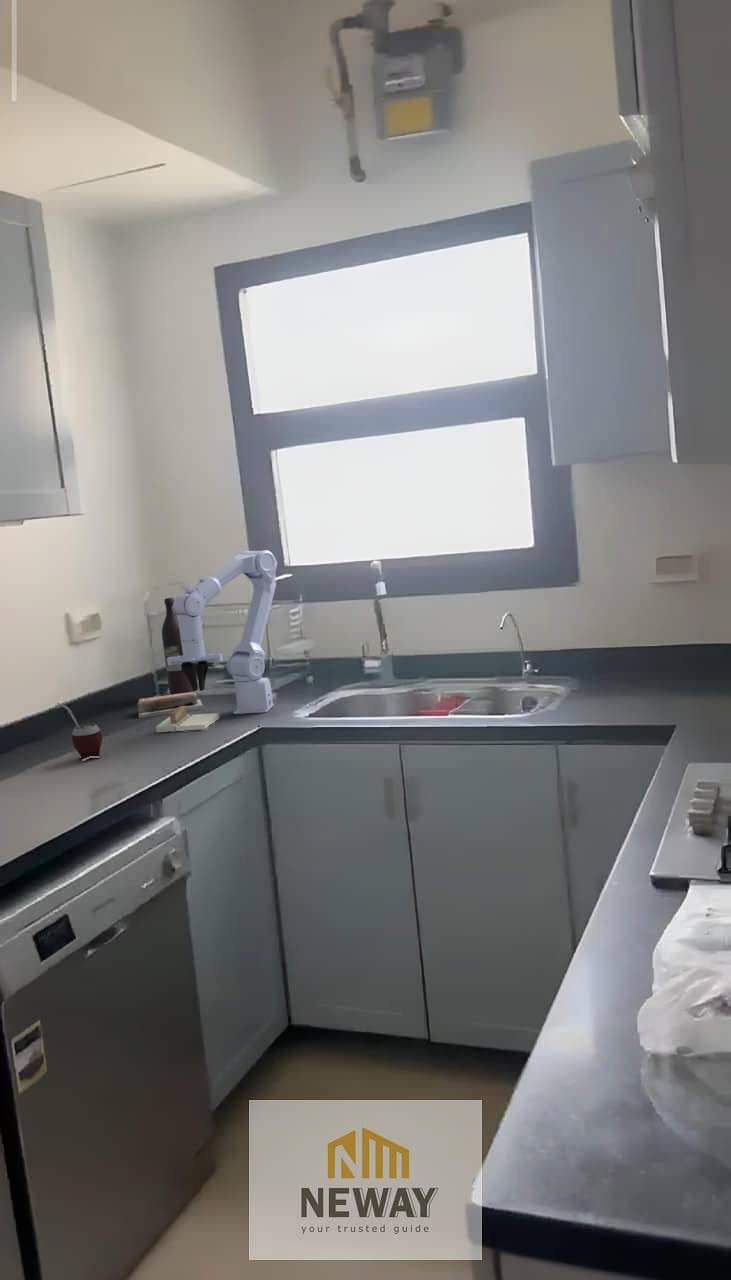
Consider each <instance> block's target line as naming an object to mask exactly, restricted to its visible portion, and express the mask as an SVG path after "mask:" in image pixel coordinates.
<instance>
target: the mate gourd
mask: <svg viewBox="0 0 731 1280" xmlns="http://www.w3.org/2000/svg"><path fill="white" fill-rule="evenodd" d="M56 704H57V705H58V706H60V707H62V708H64V709H65V710H66V711H67V714H69V715H70V716H71V719H72V720H73V722H74V724H75V727H74V728H73V730H72V731H71V741H72V742H71V743H72V744H73V747H74V749H75V750H76V752H77V753H78V754H79V756H81V758H80V759H81V760H82V759H84V758H87V757H89V756H101V755H100V752H101V746H102V744H103V734H102V731H101V729H100V727H99V726H98V724H96V723H85V724H80V725H79V723H78V721H77V719H76V718H75V715H74V714H73V711H72V710H71V708H69V707H68V706H66V705H64V704H62V703H60V702H56Z"/></svg>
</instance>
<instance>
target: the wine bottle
mask: <svg viewBox="0 0 731 1280" xmlns="http://www.w3.org/2000/svg"><path fill="white" fill-rule="evenodd" d="M174 600H175V598H174V597H166V598H164V605H165V610H166V611H165V614H166V615H165V618H164V620H163V624H162V628H161V639H162V646H163V647H162V648H163V654H164V662H165V669H166V676H167V681H168V683H167V685H168V691H169V695H173V694H180V693H189V692H195V691H193V689H192V686H191V684H190V682H189V680H188V678H187V676H186V675H185V673H184V672H183V671H182V669H181V667H182V664H176V665H169V666H168V663H167V658H169V657H175V656H183V651H182V643H181V636H180V629H179V621H178V620H177V615H176V614H175V613H174V612H173V610H172V606H173V602H174Z"/></svg>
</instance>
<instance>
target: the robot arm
mask: <svg viewBox="0 0 731 1280" xmlns="http://www.w3.org/2000/svg"><path fill="white" fill-rule="evenodd" d="M277 567H278V561H277V559H276V557H275V555H274V554H273V553H272V552H271V551H270V550H267V549H265V550H243V551H241V552H240V553H239V554H237V555H235V557H234V559H232V560H231V561H230V562H229V563H228V564H227V565H226V566H225V567H223V568H222V569H221V570H220V571H218V572H217V573H216V574H215V575H214V576H213V577H211V576H204V577H201V578H199V582H198V583H196V584H195V585H193V586H192V587H188V588H187V589H186V592H185V593H180V594H179V593H178V595H176V596H175V598H174V602H173V606H172V610H173V612H174V613H175V614H176V615H177V620H178V621H179V629H180V636H181V643H182V651H183V656H175V657H169V658H167V663H168V666H169V665H176V664H182V667H181V669H182V671H183V672H184V673H185V675H186V676H187V678H188V680H189V682H190V684H191V686H192V689H193V691H194V692H197V691H198V690H199V691H204V690H205V689H206V687H205V686H206V678H207V673H208V669H209V668H210V664H211V663H221V662H223V660H224V659H223V653H222V652H221V653H218V652H217V653H206V650H205V642H204V635H203V634H204V633H203V627H202V620H201V614H202V613H203V612H204V608H205V606H207V605H208V604H209V603H210V602H211V601H213V600H214V599H215V598H216V597H218V596H219V595H220V594H221V588H223V586H226V585H227V584H228V583H230V582H231V581H233V580H234V579H236V578H237V577H238V576H240V575H241V574H243V575H244V576H245V577H246V578H247V579H248V580H249V581H250V582H251V583H252V585H253V586H254V590H253V594H252V597H251V601H250V605H249V609H248V613H247V616H246V621H245V625H244V629H243V632H242V637H241V641H240V642H239V643H237V644H236V645H235V647H234V648H233V650H232V654H231V655H230V656H229V657H228V659H227V662H226V669H227V672H228V673H229V675H231V676H232V680H233V683H234V688H235V689H234V691H235V696H236V697H235V698H236V705H237V709H236V710H235V711H233V714H234V715H242V714H243V715H244V714H260V713H261V714H262V713H267V712H268V711H270V709H272V707H274V705H275V704H274V699H273V692H272V685H271V680H270V679H269V677H263V674H264V672H265V666H266V665H265V658H266V657H265V656H266V652H265V651H264V650H263V648H262V643H263V638H264V635H265V631H266V627H267V623H268V618H269V614H270V610H271V607H272V604H273V598H274V595H275V591H276V587H277V580H276V579H277V578H276V570H277ZM197 679H198V680H197Z"/></svg>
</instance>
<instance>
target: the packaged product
mask: <svg viewBox="0 0 731 1280" xmlns="http://www.w3.org/2000/svg"><path fill="white" fill-rule="evenodd" d="M180 706H185V707H186V712H191V711H198V710H199V711H200V710H203V709H204V705H203V703H202V701H201V698H200V699H198V696H197V694H196V691H194V692H189V693H180V694H173V695H170V694H167V695H160V696H152V697H144V698H139V699H138V701H137V712H138V718H139V719H144V718H150V717H159V716H165V715H170V713H171V712H173V711H174V710H175V709H177V708H178V707H180Z"/></svg>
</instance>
